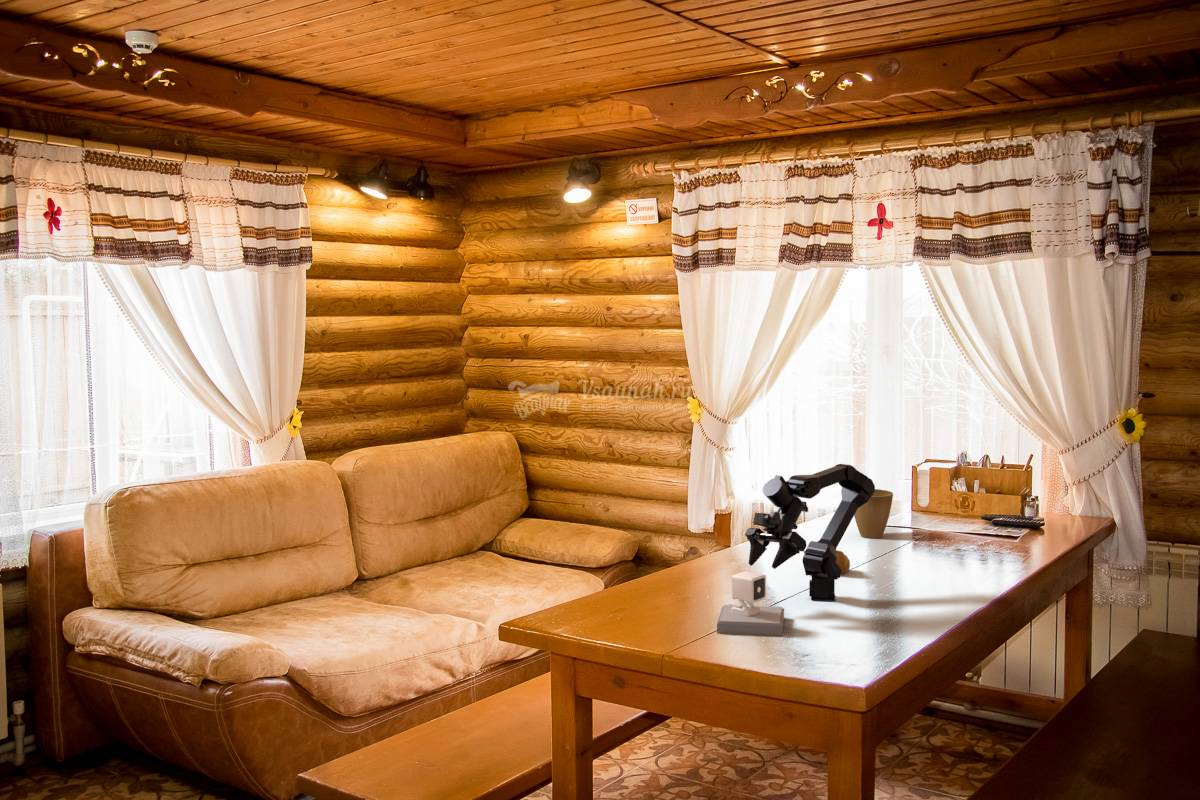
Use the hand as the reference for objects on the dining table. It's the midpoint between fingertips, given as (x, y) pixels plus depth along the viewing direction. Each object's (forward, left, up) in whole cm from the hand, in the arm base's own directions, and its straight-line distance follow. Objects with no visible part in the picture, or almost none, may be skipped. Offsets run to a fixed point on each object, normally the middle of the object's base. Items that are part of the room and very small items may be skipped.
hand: (761, 566), depth 277 cm
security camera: (+3, +9, -10) cm, 14 cm away
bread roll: (-18, -51, -13) cm, 56 cm away
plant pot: (-33, -107, -13) cm, 112 cm away
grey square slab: (+2, +9, -13) cm, 16 cm away
